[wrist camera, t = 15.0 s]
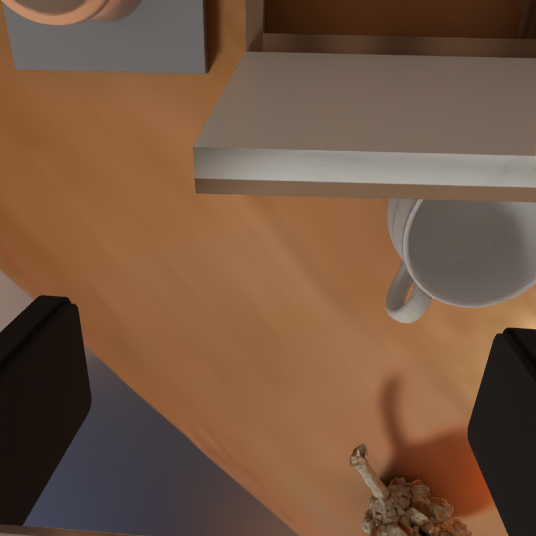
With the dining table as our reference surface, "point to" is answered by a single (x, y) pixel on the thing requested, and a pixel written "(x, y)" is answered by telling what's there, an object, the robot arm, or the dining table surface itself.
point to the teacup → (460, 253)
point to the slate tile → (117, 41)
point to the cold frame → (390, 40)
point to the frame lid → (373, 128)
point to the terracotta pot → (72, 10)
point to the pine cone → (404, 506)
